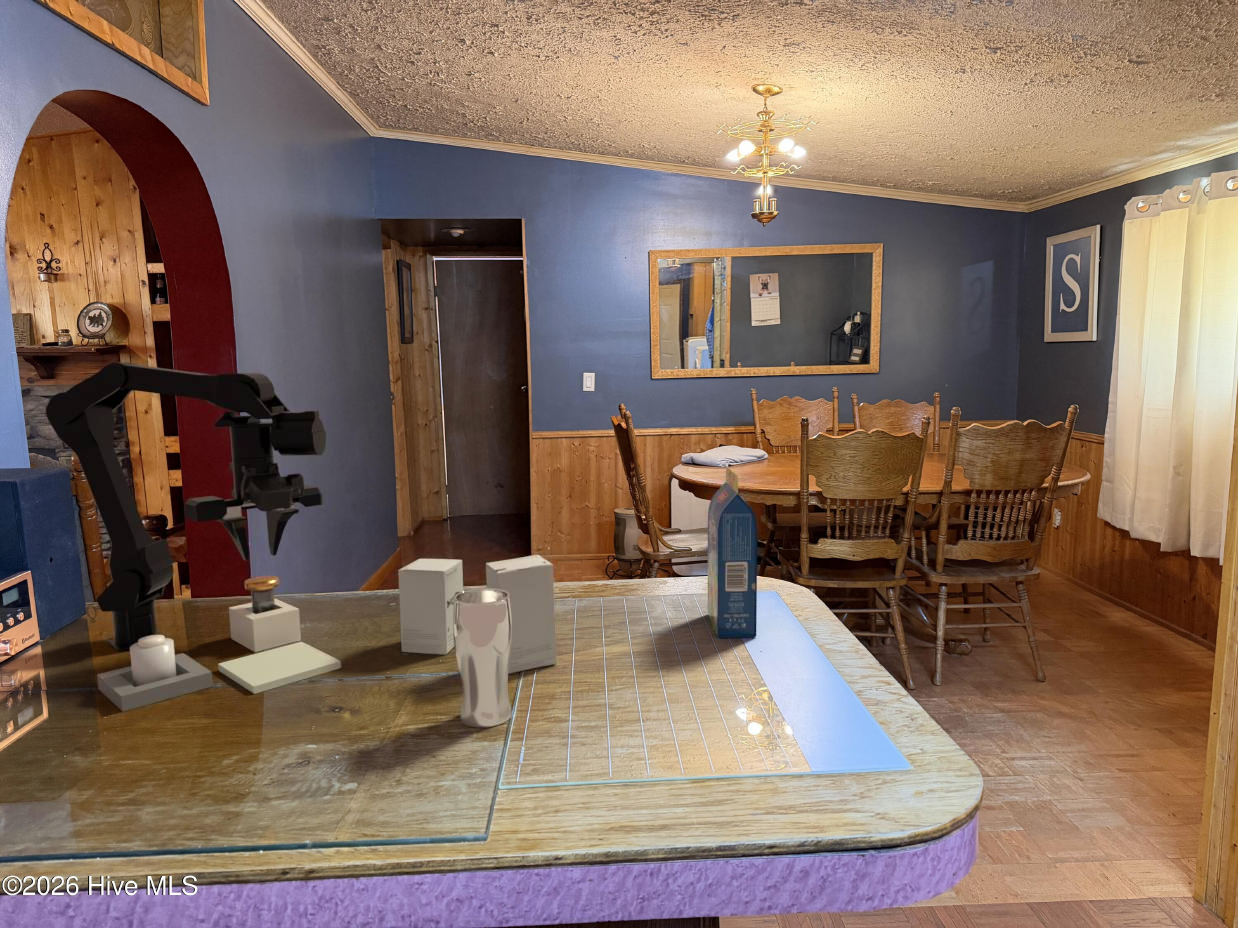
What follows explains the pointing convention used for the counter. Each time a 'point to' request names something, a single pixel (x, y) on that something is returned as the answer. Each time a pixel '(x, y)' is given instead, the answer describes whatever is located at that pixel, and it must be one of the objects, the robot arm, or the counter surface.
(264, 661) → the dock pad
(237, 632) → the plunger housing
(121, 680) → the socket
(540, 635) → the skincare box
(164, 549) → the robot arm
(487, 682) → the beer glass
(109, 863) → the counter surface
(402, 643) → the supplement box
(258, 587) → the plunger
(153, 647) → the cylinder
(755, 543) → the blue food package
